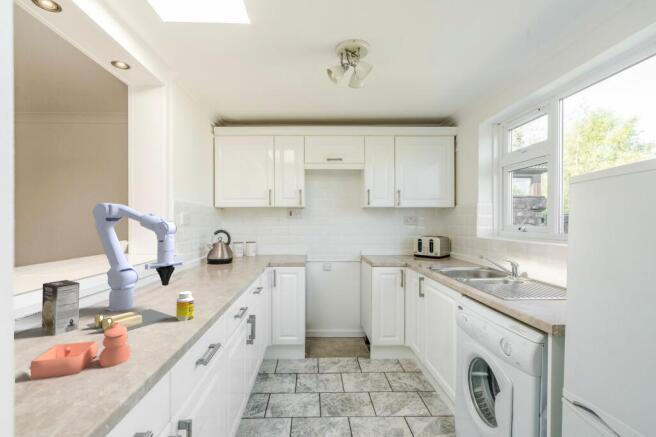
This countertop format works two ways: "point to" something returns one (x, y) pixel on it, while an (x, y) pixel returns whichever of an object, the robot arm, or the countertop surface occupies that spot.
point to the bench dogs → (102, 323)
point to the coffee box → (60, 307)
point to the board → (144, 319)
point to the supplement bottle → (185, 306)
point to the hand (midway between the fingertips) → (165, 285)
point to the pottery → (82, 355)
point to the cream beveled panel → (127, 319)
